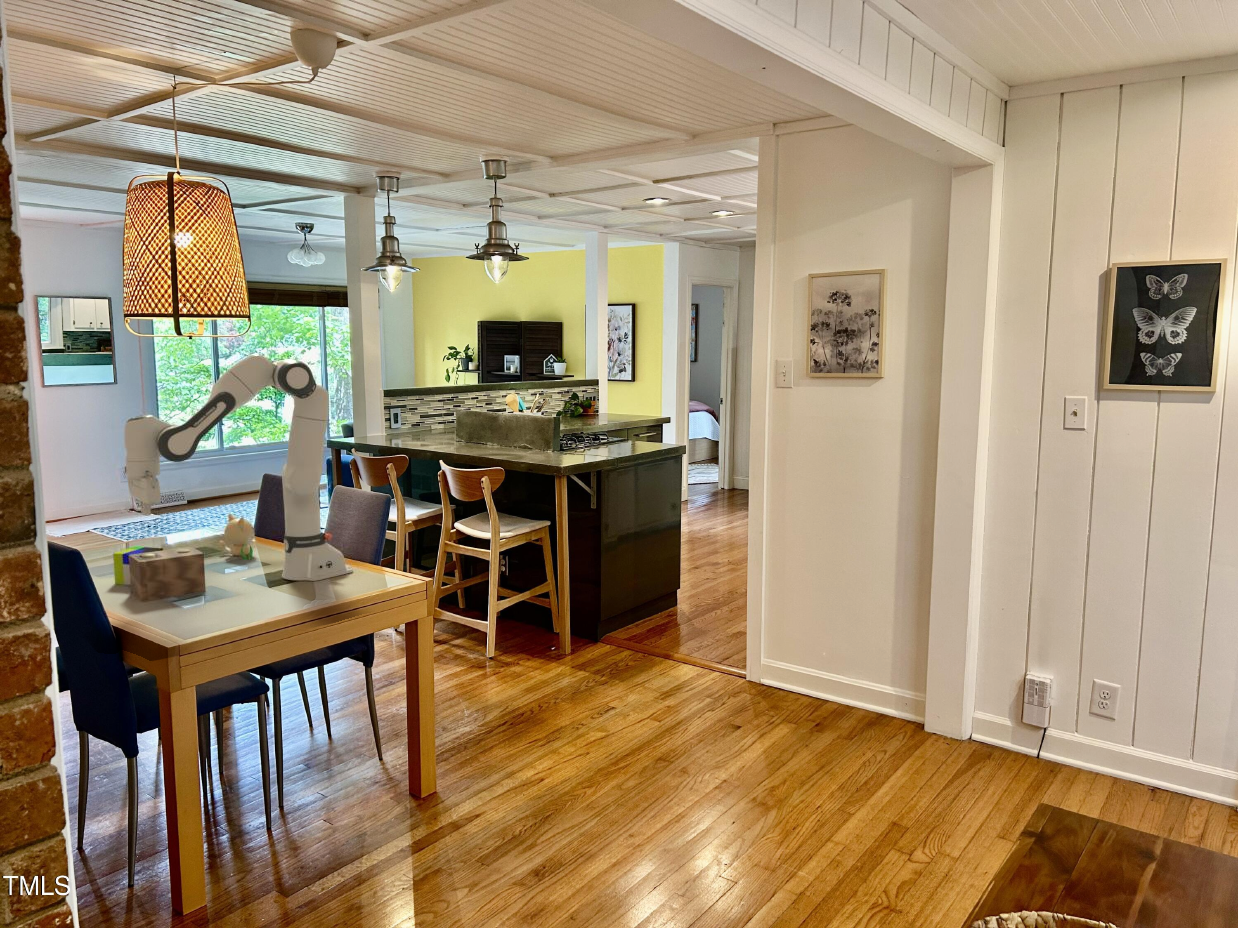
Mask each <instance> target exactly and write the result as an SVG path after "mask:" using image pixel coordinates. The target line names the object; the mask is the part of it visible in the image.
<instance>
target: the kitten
mask: <svg viewBox="0 0 1238 928" xmlns="http://www.w3.org/2000/svg"><path fill="white" fill-rule="evenodd" d="M227 517H228V523H227V524H226V526H225V528H224V533H223V536H224V539H225V541H226V542H227V543H228V544H231V545H232V546H231V548H229V547H228V546H227V545H226V542H225V541H224V540H220V541H219V543H218V544H219V547H220V548H221V549H222V550H224V551H225V553H227V554H230V555H232V556H236V557H242V558H243V560H244V559H245V560H246V559H248V560H250V559H253V553H254V550H253V547H252V546H251V545H250V544H251V543H252V542H253V540H254V538H255V534H256V533H255V532H256V529H255V527H254V526H253V525H252V523H251V522H250V520H247V519H246V518H244V516H242V517H240V518H239V517H238V518H236V516H234V515H233V514H232V513H228V515H227ZM249 558H250V559H249Z"/></svg>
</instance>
